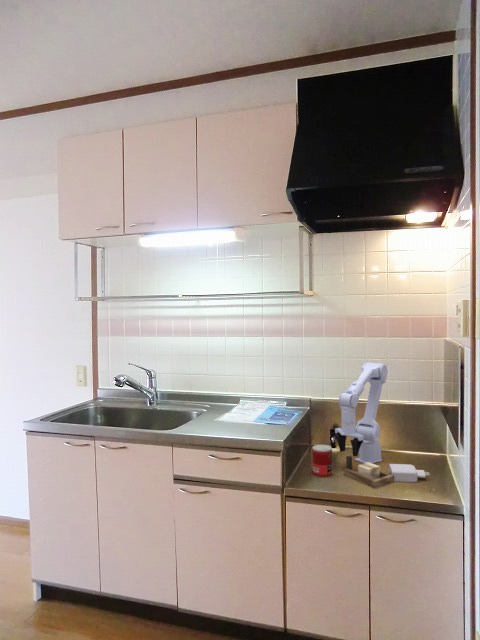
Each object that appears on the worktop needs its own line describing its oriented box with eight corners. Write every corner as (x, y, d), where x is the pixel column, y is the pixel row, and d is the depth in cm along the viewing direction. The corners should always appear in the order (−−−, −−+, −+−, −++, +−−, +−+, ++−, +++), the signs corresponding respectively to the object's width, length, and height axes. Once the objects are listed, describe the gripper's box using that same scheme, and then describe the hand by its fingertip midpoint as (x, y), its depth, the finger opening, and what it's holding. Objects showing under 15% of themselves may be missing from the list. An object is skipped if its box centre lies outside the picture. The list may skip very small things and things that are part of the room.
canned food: (332, 477, 191) (331, 450, 191) (312, 476, 193) (311, 450, 192) (332, 470, 199) (331, 445, 198) (313, 469, 200) (312, 444, 200)
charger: (432, 484, 182) (392, 482, 185) (427, 475, 192) (389, 474, 194) (432, 472, 182) (391, 470, 185) (427, 464, 191) (388, 462, 194)
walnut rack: (362, 469, 199) (362, 463, 199) (394, 481, 185) (394, 475, 185) (344, 475, 193) (344, 469, 193) (374, 488, 179) (374, 481, 179)
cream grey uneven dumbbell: (352, 467, 201) (352, 454, 201) (379, 478, 188) (379, 465, 188) (342, 470, 198) (341, 457, 197) (369, 482, 185) (369, 468, 184)
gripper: (329, 419, 201) (330, 450, 202) (354, 426, 189) (354, 460, 190) (341, 417, 205) (342, 447, 206) (366, 424, 193) (367, 456, 193)
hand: (348, 453), depth 198 cm, fingers open, 7 cm apart
